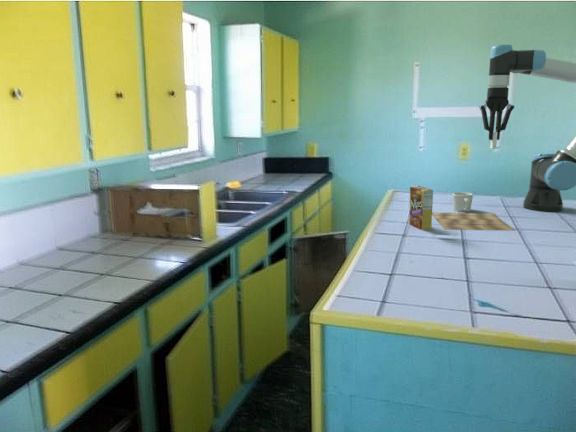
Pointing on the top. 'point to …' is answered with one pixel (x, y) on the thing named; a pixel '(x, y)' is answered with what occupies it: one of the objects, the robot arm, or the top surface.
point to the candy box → (420, 207)
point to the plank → (466, 216)
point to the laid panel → (474, 224)
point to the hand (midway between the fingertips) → (493, 148)
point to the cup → (462, 201)
